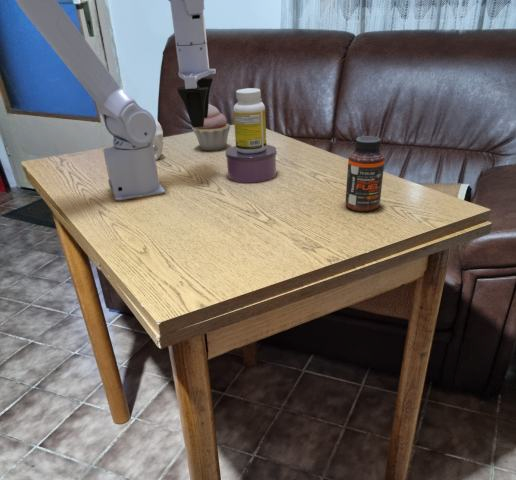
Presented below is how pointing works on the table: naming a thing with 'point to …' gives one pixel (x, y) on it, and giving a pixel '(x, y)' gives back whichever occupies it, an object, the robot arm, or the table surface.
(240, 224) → the table surface
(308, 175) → the table surface
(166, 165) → the table surface
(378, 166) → the supplement bottle
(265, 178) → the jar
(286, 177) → the table surface
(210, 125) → the cupcake
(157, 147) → the penguin figurine
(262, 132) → the pill bottle
